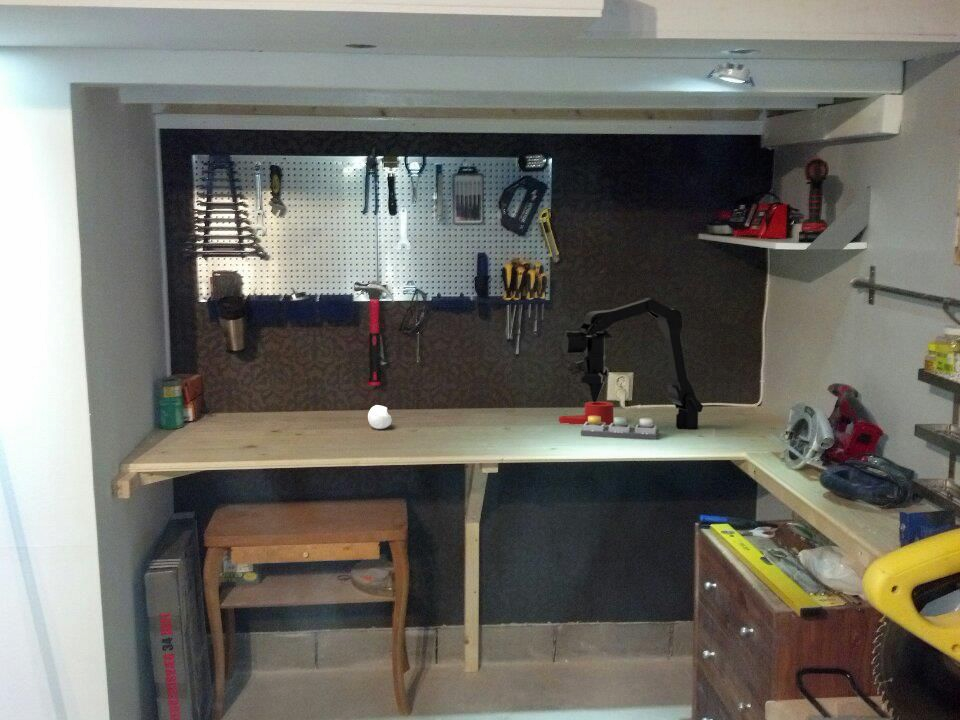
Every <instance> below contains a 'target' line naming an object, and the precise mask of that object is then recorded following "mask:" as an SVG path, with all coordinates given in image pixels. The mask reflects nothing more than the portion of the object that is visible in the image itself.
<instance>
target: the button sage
mask: <svg viewBox="0 0 960 720" xmlns="http://www.w3.org/2000/svg"><path fill="white" fill-rule="evenodd" d="M627 419H628V418H627V417H626V416H613V423H614V425H619V426H623V425H626V424H628V423H627V421H628V420H627Z"/></svg>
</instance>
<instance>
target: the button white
mask: <svg viewBox="0 0 960 720" xmlns="http://www.w3.org/2000/svg"><path fill="white" fill-rule="evenodd" d="M638 424H639V426H642V427H651V426H653V425H654V422H653V418H649V417H641V418H639V423H638Z"/></svg>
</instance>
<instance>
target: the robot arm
mask: <svg viewBox="0 0 960 720" xmlns="http://www.w3.org/2000/svg"><path fill="white" fill-rule="evenodd" d="M645 313H646V314H647V313H648V314H649V315H650V316H651V317H653V318H655V319H656V320H657V324H658V325H659V329H660V331H661V332H662V333H663V336H664V338H665V343H666V348H667V354H668V359H669V360H668V361H669V366H670V371H671V378H672V380H671V384H670V385H667V391H668V399H670V401H671V402H672V403H673V404H674V407H675V409H678V412H677V413H676V417H675V423H676V424H675V427H676V429H678V430H686V431H687V430H689V431H691V430H693V431H698V430H699V413H702V411H703V409H704V405H703V404H702V403H701V402H700V401H699V400H698V398H697V395H696V392H695V389H694V386H693V385H692V383H691V382H690V380H689V378H688V373H687V372H688V371H687V366H686V361H685V355H684V349H683V344H682V337H681V336H682V335H681V334H682V331H683V327H684V322H683V321H684V319H683V314H682V312H681V311H680V310H678V309H675V308H670V307H668V306H666V305H664V304H662V303H660V302H658V301H657V300H655V299H654V298H648V297H645V298H643V299H641V300H638V301H635V302H632V303H628V304H625V305H622V306H618V307H615V308H612V309H606V310H605V309H603V310H595V311H594V310H593V311H589V312H587V313H585V314H586V315H585V317H584V320H583V322H582V324H581V325H580V326H579V328H578V329H577V331H568V330H567V331H564V335H563V337H562V340H561V349H562V353H564V354H566V355H568V354H583V353H584V352H585V354H586V355H585V356H583V360H580V361H576V360H574V361H570V362H569V364H568V365H567V371H568V372H569V375H570V376H574V375H575V374H579V373H582V372H583V374H582V375H581V376H580V383H582V384H586V385H587V386H588V387H589V390H590V395H591V399H592V401H593V402H597V401H599V400H598V399H599V396H600V394H601V392H602V389H603V387H604V384H605V383H606V380H607V378H603V377H604V376H605V377H608V376H609V375H610V374H609V371H610V370H609V368H608V367H607V366H606V365H605V361H606V357H607V356H606V354H605V353H606V350H605V347H606V339H611V338H612V334H610V333H609V332H608V330H606V329H609V328H611V327H612V326H614V325H615V324H616V323H618V322H621V321H623V320H624V321H625V320H627V319H629V318H632V317H636V316H639V315H643V314H645Z"/></svg>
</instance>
